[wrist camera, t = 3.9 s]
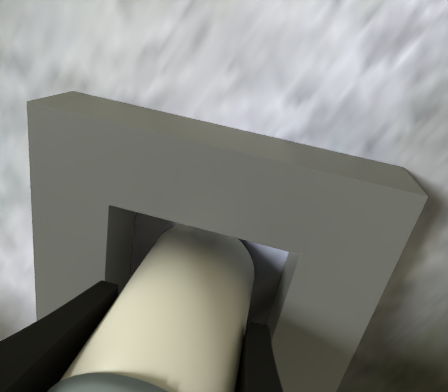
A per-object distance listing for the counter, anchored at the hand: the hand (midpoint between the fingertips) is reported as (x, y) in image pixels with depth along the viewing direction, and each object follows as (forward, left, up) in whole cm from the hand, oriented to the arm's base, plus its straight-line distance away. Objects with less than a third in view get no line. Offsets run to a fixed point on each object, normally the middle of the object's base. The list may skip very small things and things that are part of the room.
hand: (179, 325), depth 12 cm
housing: (0, 0, -3) cm, 3 cm away
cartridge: (0, 0, -3) cm, 3 cm away
